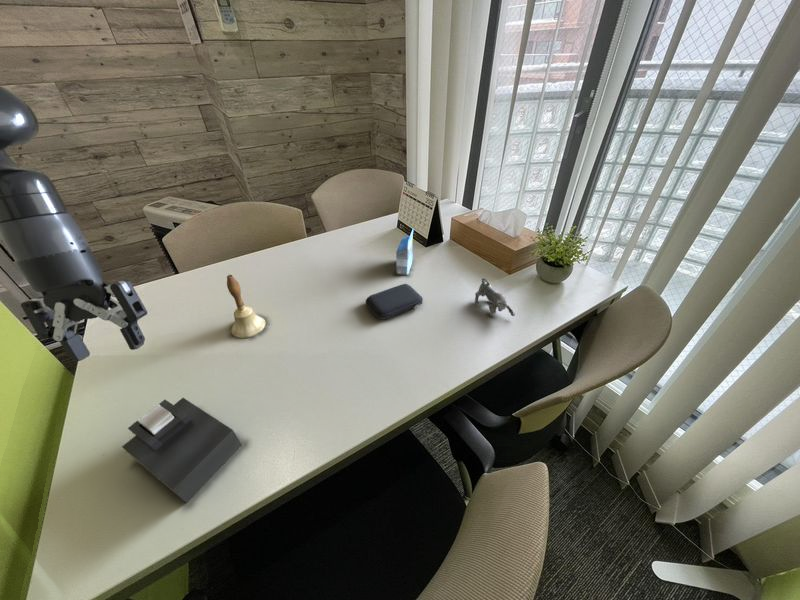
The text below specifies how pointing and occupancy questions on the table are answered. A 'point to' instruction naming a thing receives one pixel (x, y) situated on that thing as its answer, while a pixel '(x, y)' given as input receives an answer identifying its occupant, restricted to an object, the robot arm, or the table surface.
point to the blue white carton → (404, 255)
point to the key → (156, 419)
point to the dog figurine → (492, 298)
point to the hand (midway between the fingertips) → (110, 352)
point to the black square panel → (183, 448)
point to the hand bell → (243, 313)
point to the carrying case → (394, 301)
